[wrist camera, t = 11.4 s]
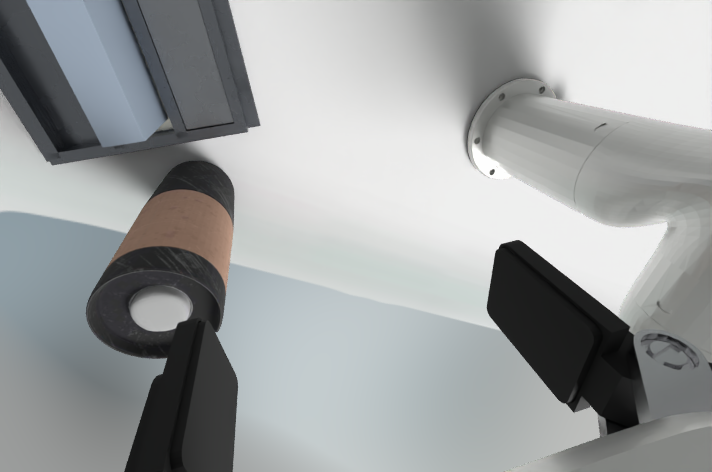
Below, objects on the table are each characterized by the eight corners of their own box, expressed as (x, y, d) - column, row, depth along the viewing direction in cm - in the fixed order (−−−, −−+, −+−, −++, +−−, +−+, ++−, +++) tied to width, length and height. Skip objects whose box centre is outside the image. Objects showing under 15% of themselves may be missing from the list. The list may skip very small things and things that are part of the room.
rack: (216, -48, 27) (212, -55, 25) (260, 124, 35) (260, 130, 33) (-67, -25, 24) (-100, -31, 22) (50, 159, 32) (35, 169, 29)
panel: (117, -10, 26) (72, -24, 20) (167, 118, 32) (145, 140, 25) (76, -6, 26) (15, -20, 19) (134, 123, 31) (102, 147, 25)
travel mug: (158, 154, 34) (67, 267, 17) (237, 161, 36) (224, 267, 20) (165, 220, 37) (95, 366, 21) (236, 222, 40) (225, 355, 23)
